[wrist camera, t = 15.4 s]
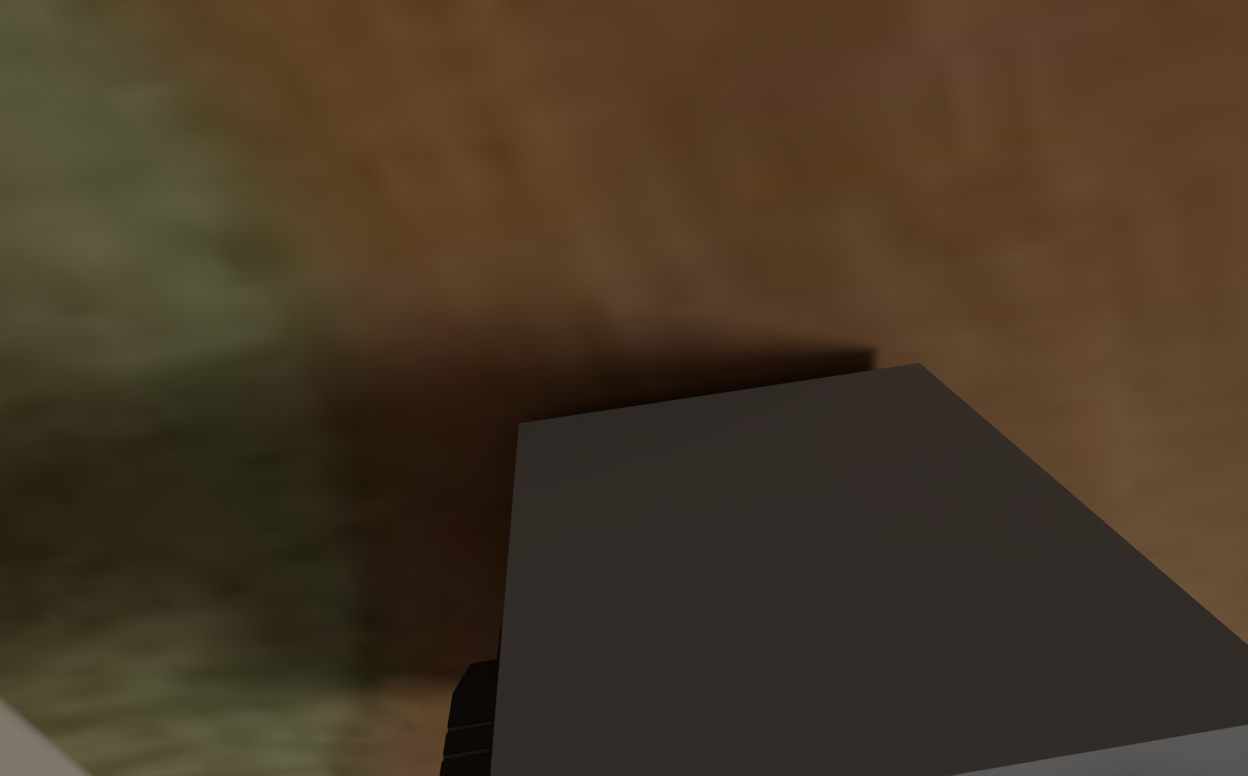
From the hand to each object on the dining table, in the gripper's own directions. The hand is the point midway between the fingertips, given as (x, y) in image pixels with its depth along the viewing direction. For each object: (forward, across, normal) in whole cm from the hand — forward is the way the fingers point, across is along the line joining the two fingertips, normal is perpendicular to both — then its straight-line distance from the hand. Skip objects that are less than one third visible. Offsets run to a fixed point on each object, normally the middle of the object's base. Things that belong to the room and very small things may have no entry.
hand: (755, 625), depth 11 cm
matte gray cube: (+2, 0, 0) cm, 2 cm away
